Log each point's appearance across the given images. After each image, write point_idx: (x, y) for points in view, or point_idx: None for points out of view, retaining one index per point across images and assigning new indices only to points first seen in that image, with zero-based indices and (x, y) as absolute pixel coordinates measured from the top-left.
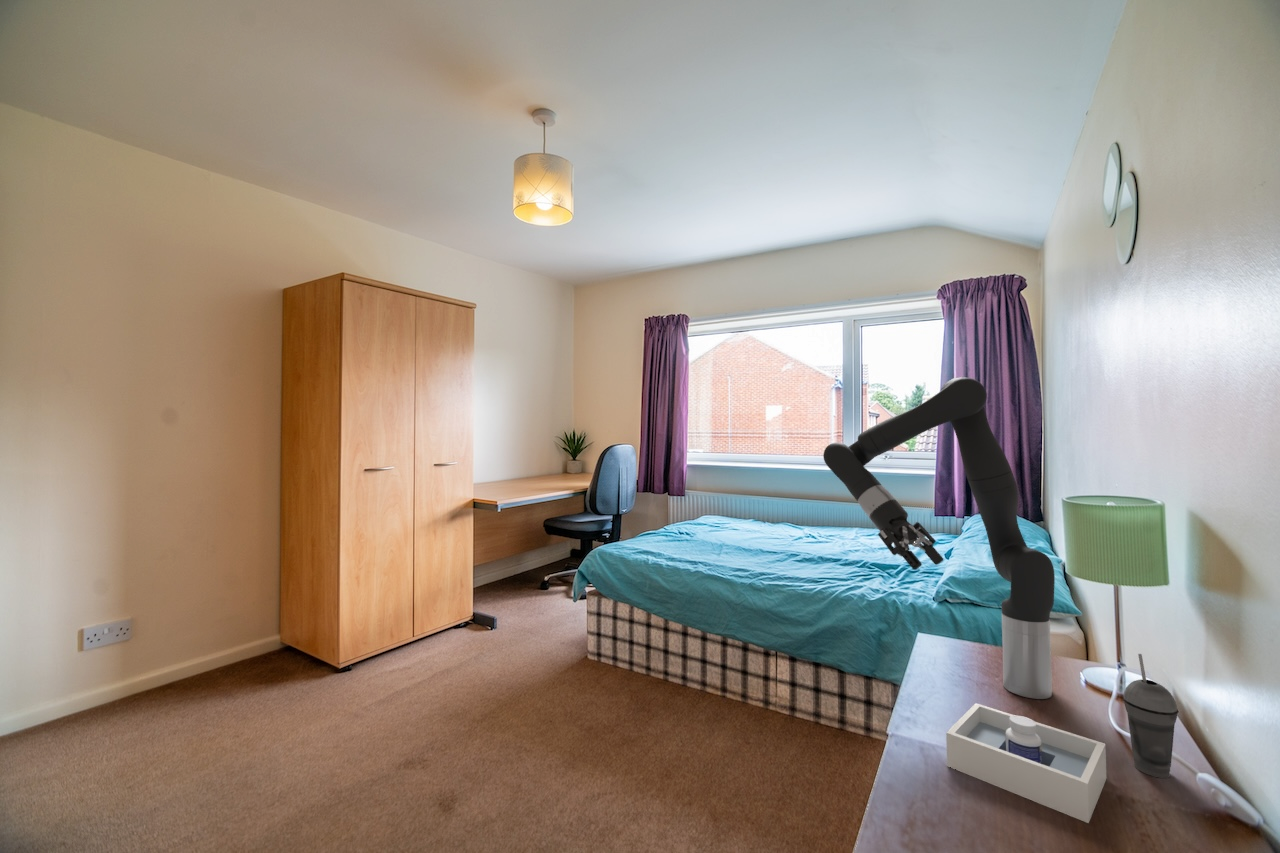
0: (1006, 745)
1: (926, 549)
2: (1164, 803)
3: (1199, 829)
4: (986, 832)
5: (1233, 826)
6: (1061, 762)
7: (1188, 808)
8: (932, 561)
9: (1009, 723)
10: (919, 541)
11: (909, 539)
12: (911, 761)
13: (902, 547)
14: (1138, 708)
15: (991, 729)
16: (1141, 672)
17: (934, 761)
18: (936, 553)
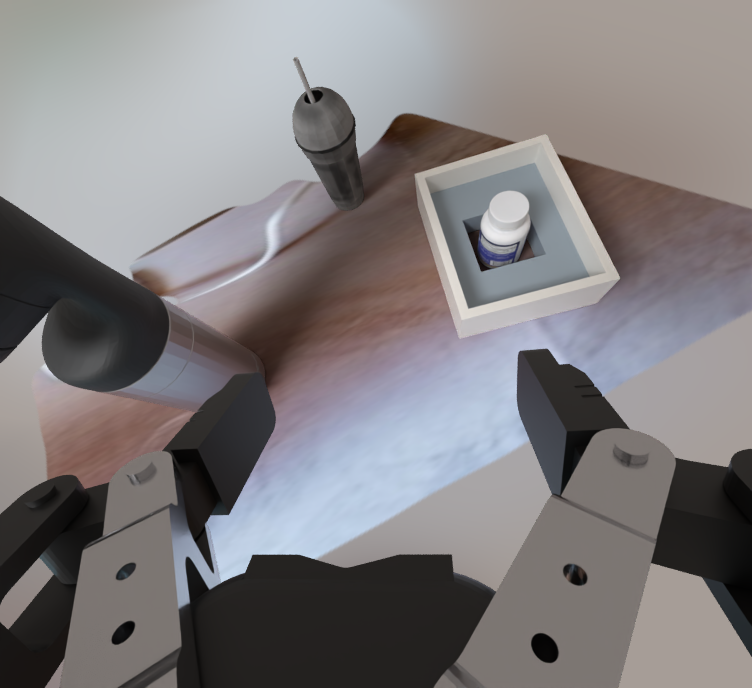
0: (521, 245)
1: (210, 500)
2: (414, 164)
3: (435, 134)
4: (675, 201)
5: (399, 127)
6: (473, 209)
7: (402, 152)
8: (265, 444)
9: (521, 223)
10: (203, 565)
11: (428, 577)
12: (643, 336)
13: (738, 460)
14: (354, 127)
15: (474, 296)
16: (310, 89)
17: (604, 319)
18: (234, 403)
